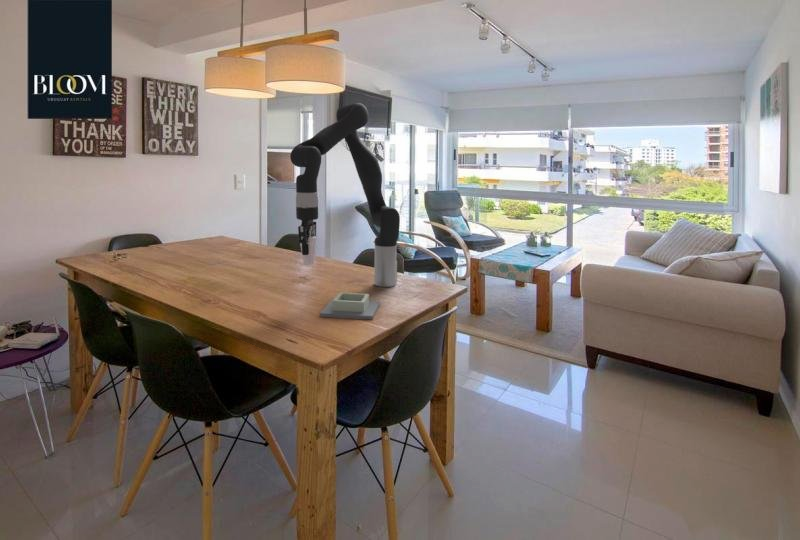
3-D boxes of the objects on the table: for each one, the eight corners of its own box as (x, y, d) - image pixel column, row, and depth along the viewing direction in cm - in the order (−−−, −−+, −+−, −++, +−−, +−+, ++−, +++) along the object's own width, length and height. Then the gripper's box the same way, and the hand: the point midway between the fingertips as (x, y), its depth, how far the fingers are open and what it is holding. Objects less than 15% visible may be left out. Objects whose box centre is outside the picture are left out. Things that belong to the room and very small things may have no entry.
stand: (332, 301, 181) (332, 289, 180) (380, 304, 179) (380, 291, 178) (319, 316, 163) (319, 303, 162) (372, 319, 162) (372, 306, 160)
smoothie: (318, 262, 176) (318, 223, 173) (316, 265, 169) (315, 226, 166) (301, 261, 176) (299, 223, 172) (297, 265, 169) (296, 225, 166)
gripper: (302, 203, 175) (304, 248, 179) (289, 207, 161) (291, 256, 165) (323, 203, 174) (323, 249, 178) (311, 207, 160) (312, 257, 164)
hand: (308, 252), depth 172 cm, fingers closed on smoothie, 6 cm apart
